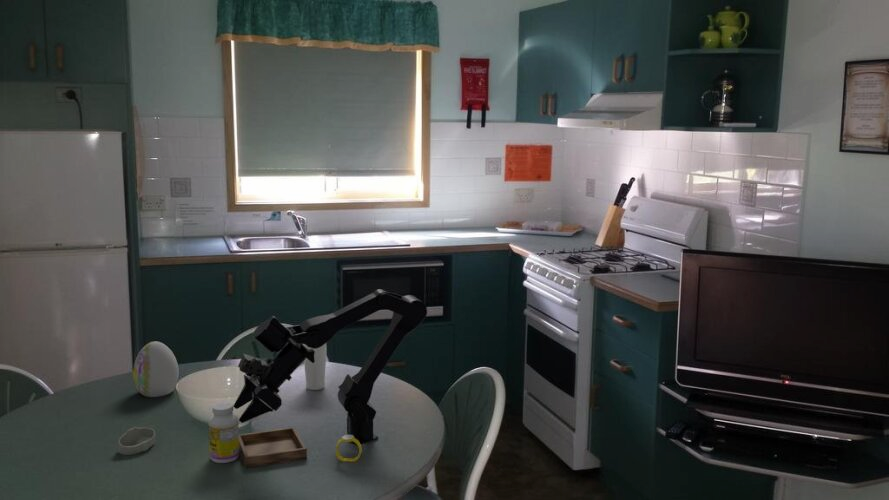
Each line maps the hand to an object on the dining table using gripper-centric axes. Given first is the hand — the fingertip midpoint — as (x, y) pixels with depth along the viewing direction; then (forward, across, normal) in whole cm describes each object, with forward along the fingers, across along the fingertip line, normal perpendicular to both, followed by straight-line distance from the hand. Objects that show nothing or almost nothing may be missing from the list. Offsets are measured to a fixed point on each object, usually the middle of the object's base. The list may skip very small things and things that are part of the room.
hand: (237, 414), depth 192 cm
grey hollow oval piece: (+23, -13, -8) cm, 28 cm away
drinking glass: (-12, -40, +27) cm, 50 cm away
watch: (-9, +12, +24) cm, 28 cm away
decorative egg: (+18, -52, -3) cm, 56 cm away
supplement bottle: (+10, 0, +5) cm, 11 cm away
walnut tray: (+2, 0, +13) cm, 13 cm away
